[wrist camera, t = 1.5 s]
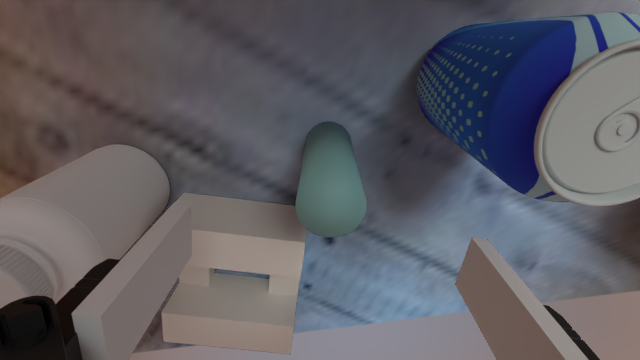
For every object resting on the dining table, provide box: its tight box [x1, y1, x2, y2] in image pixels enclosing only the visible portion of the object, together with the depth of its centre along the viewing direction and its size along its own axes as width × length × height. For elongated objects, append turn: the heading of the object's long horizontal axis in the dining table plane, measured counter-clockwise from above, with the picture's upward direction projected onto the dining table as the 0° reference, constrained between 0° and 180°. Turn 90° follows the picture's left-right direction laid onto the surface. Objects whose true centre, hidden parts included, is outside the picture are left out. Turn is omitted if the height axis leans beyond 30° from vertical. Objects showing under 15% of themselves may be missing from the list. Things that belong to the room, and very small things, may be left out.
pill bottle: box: [0, 144, 170, 308], centre depth 24 cm, size 8×8×15 cm
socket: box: [161, 192, 307, 354], centre depth 32 cm, size 13×12×6 cm
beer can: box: [417, 12, 640, 206], centre depth 20 cm, size 8×8×16 cm
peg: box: [295, 122, 367, 237], centre depth 24 cm, size 4×4×12 cm
